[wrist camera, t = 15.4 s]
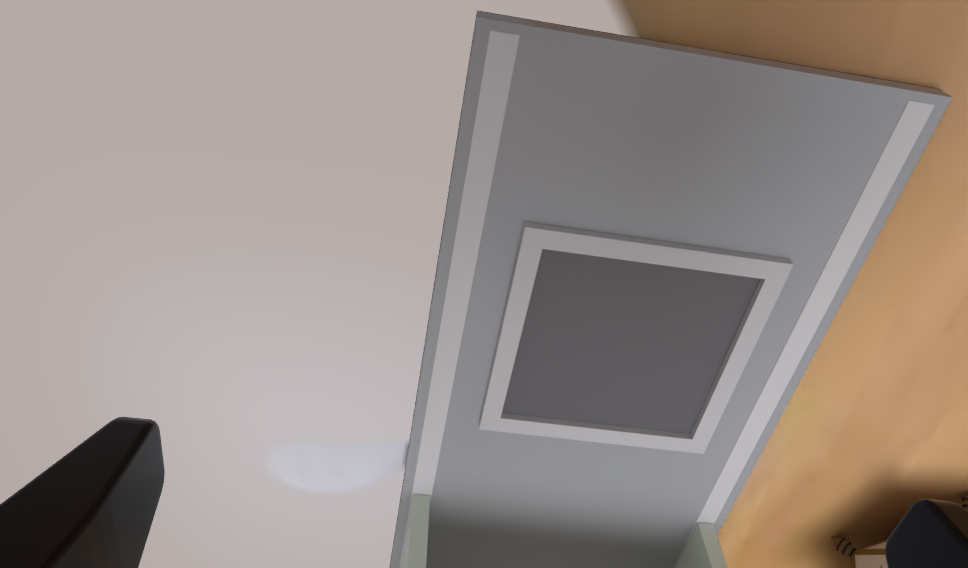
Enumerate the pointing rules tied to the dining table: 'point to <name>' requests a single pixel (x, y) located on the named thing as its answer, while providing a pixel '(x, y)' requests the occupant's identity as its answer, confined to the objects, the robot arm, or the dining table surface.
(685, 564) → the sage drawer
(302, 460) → the dining table surface
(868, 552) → the game die
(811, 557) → the dining table surface
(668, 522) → the puzzle board
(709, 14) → the dining table surface
